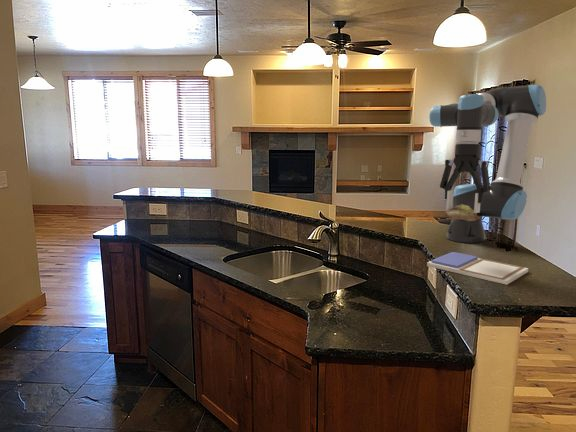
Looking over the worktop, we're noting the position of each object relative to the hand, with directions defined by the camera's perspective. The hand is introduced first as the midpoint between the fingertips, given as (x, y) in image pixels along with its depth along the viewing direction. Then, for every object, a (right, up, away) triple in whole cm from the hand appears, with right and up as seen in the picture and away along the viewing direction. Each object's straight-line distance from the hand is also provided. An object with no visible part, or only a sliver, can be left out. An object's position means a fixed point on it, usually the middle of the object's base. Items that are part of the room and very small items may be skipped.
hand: (462, 210), depth 146 cm
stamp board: (+3, -19, -3) cm, 20 cm away
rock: (-1, -3, 0) cm, 3 cm away
